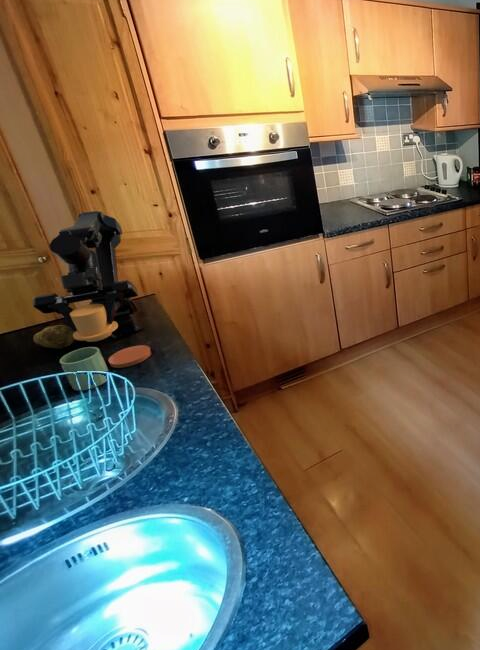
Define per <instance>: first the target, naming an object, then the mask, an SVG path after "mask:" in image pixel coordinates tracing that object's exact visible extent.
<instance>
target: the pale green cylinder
mask: <svg viewBox="0 0 480 650" xmlns="http://www.w3.org/2000/svg"><path fill="white" fill-rule="evenodd" d="M59 364H60V366H61V368H62V370H63V372H64V373H65V372H77V371H109V372H110V370H109V368H108V366H107V364H106V362H105V359H104V356H103V354H102V352H101V349H100V348H99V347H97V346H87V347H81V348H78V349H74V350H72V351H70V352H68V353H66V354H64V355H63V356H61V358H60V359H59ZM65 376H66V378H67V380H68V383H69V384H70V386H71V388H72V389H73V390H74V391H78V392H81V391H88V390H89V389H88V375H87V374H84V373H81V374H77V378H78V381H79V383H80V385H81V391H79V388H78V386H77V383H76V375H75V374H69V375H66V374H65ZM93 380H94V382H95V383H96V384H97V387H100V386H102V385H103V384H105V383H106V382H108V380H107V379H106V376H104V375H101V374H94V375H93ZM95 388H96V387H95V385H94V384H93V385H91V389H90V390H92V389H95Z"/></svg>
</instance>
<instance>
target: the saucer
mask: <svg viewBox="0 0 480 650" xmlns="http://www.w3.org/2000/svg"><path fill="white" fill-rule="evenodd" d="M151 355H152V351H151V347H149V346H148V345H143V344H142V345H141V344H140V345H132V346H129V347H126V348H122V349H121V350H118V351H116V352H115V353H113V354H112V355H110V357H109V358H108V360H107V361H108V364H109V366H110V367H111V368H114V369H115V368H116V369H123V368H129V367H132V366H135V365H138V364H140V363H142V362H144V361H145V360H147V359H148V358H149V357H150V356H151Z"/></svg>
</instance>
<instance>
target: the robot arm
mask: <svg viewBox="0 0 480 650" xmlns="http://www.w3.org/2000/svg"><path fill="white" fill-rule="evenodd" d="M121 235H123V229H122V227H121V224H120V223H119V222H118V221H117V219H116V218H114V217H112V216H109V215H106V214H105V213H104V212H103V211H100V210H93V211H86V212H81V213H79V214H78V219H77V220H76V222H75V223H74V224H73V226H69V227H65V228H62V229H60V231H58V234H57V236H55V237H54V238H53V239H52V240H51V241H50V243H49V249H50V251H51V252H52V253H53V254H54V255H55V256H57V258H59V259H60V260H61V261H62V262H63V263H64V264H67V267H68V268H67V269H68V272H67V274H65V275H60V276H59V278H60V282H61V284H62V288H63V290H66V292H67V293H69V294H70V295H65V296H60V295H58V294H57V293H56V292H53V293H47V294H41V295H36V296H35V297H34V298H33V299H32V307H33V308H34V309H36V310H38V311H39V312H40V313H42V314H52V313H56V314H58V315H61V316H62V317H63V318H64V319H65V321H66V322H67V324H68V326H69V327H70V328H72V330H73V331H74V332H77V329H76V327H75V325H74V323H73V321H72V318H71V316H70V313H71V312H72V311H73V310H74V308H72V307H71V306H70V304H73V303H79V302H84V301H90V300H91V301H90V302H89V305H90V304H102V305H104V307H105V310H106V312H107V320H108V324H112V322H113V321H115V322H117V324H118V327H117V329H116V330H115V331H113V332H112V333H111V335H110V336H109V337H110V338H112V339H114V340H120V339H123V338H125V337H128V336H130V335H132V334H135V333H137V332H140V331H142V327H140V326H137V325H135V322H134V319H133V317H132V315H134V314H135V313H136V312H138V311H139V309H138V307H137V304H136V303H135V301H134V300H133V298H135V297H138V296H139V294H138V289H137V287H136V285H135V284H134V283H133V281H131V280H129V279H127V280H121V281H119V272H118V264H117V256H116V255H117V254H116V248H117V247H118V246H119V245H120V244H121V242H122V238H121V237H122V236H121ZM91 249H94V251H93V250H91Z"/></svg>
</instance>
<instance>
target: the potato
mask: <svg viewBox="0 0 480 650" xmlns="http://www.w3.org/2000/svg"><path fill="white" fill-rule="evenodd" d="M73 334H74V331H73V330H72V328H71V327H70V326H69V325H65V324H57V325H56V324H55V325H50V326H47V327H45V328H43V329H42V330H41V331H38V332H37V333H35V334H34V335H33V337H32V338H33V339H32V341H33V342H34V343H35V344H36V345H37V346H40V347H43V348H47V349H57V350H59V349H63V348H67V347H70V346H71V345H72V344H73V343H74V341H75V340H76V339H74V337H73Z"/></svg>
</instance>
